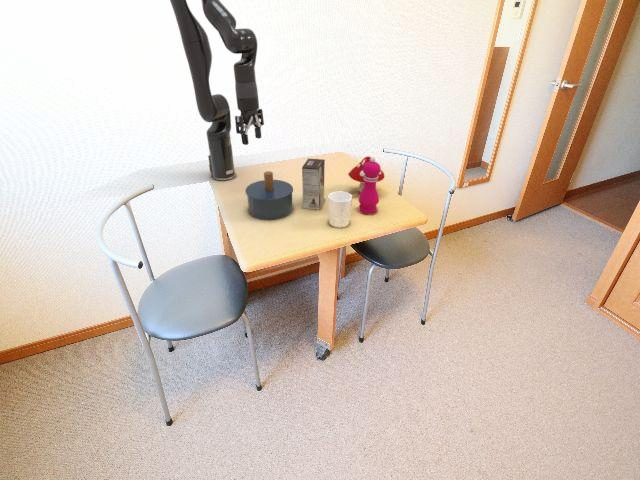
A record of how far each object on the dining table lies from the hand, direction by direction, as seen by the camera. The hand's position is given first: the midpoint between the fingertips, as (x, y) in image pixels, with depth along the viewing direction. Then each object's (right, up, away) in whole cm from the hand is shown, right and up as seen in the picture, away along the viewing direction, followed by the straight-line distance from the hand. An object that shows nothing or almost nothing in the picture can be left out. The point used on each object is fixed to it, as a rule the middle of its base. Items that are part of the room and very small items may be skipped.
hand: (252, 141), depth 132 cm
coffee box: (+23, -23, +1) cm, 33 cm away
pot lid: (+8, -19, -7) cm, 22 cm away
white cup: (+32, -31, -11) cm, 46 cm away
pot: (+7, -26, -3) cm, 27 cm away
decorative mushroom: (+43, -18, +10) cm, 48 cm away
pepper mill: (+43, -26, -3) cm, 50 cm away
